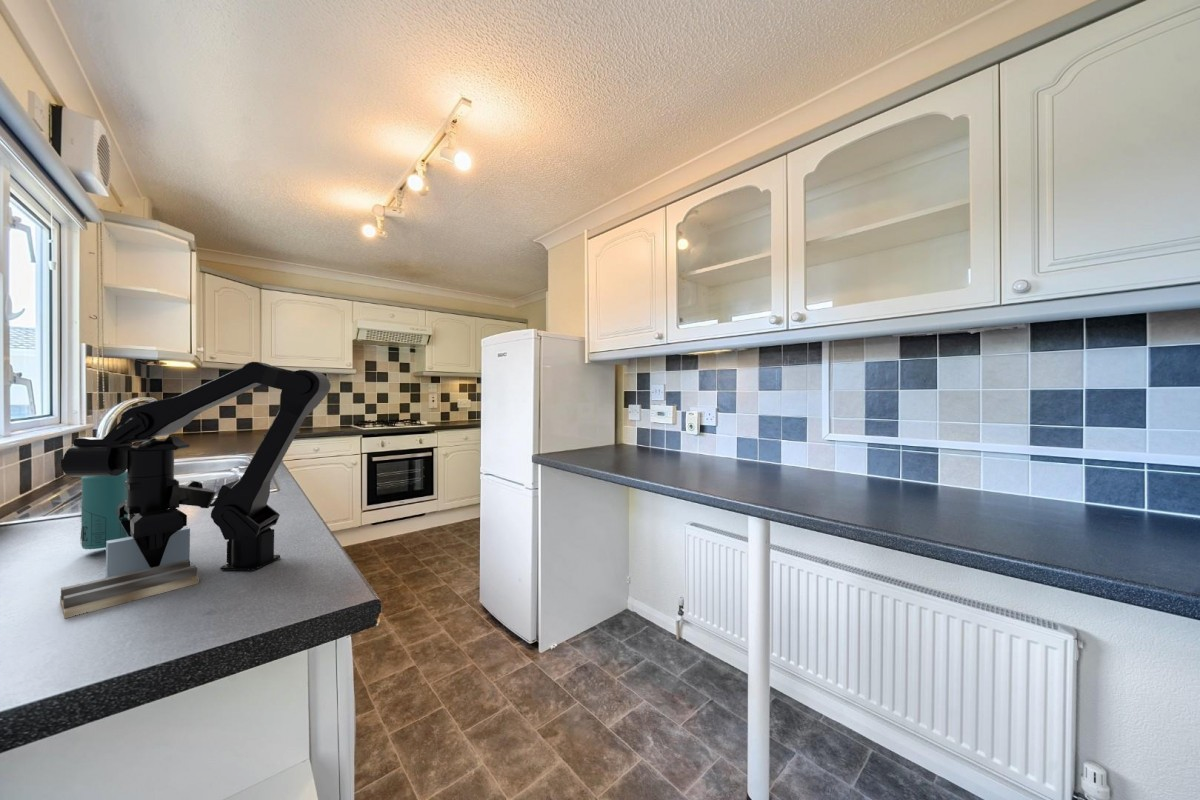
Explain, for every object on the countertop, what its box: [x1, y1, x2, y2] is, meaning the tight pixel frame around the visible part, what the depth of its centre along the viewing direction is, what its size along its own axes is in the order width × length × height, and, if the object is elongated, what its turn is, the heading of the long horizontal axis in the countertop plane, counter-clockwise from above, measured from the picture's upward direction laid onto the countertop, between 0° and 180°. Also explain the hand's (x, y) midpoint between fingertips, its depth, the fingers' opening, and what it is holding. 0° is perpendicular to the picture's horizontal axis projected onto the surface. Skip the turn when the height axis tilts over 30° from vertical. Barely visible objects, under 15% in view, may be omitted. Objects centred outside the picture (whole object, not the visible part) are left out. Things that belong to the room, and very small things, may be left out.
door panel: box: [105, 526, 191, 578], centre depth 74 cm, size 10×2×7 cm, turn 146°
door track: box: [59, 558, 200, 619], centre depth 67 cm, size 14×8×2 cm, turn 146°
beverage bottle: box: [79, 470, 129, 550], centre depth 83 cm, size 6×7×20 cm
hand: (149, 561), depth 74 cm, fingers open, 8 cm apart
